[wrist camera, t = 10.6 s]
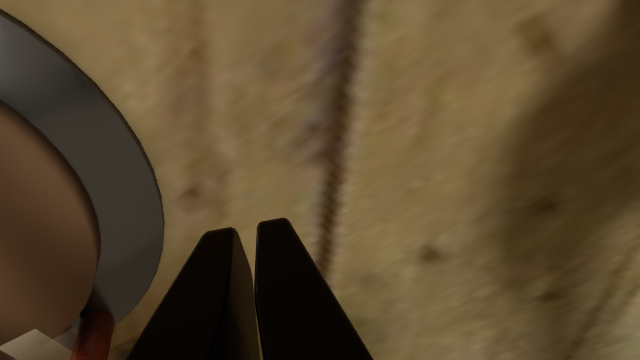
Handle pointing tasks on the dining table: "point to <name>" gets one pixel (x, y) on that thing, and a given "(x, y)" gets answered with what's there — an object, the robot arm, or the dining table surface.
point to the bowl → (90, 174)
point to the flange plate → (42, 244)
